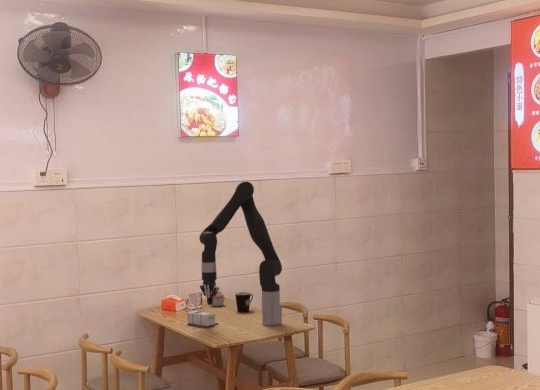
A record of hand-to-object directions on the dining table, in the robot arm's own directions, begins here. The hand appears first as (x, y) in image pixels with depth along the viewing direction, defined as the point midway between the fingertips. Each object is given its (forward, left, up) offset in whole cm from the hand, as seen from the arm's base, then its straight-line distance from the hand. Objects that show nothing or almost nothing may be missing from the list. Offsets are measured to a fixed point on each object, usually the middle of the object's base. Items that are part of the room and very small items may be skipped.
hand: (209, 304), depth 356 cm
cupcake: (+37, -37, -11) cm, 54 cm away
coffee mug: (+13, -37, -11) cm, 41 cm away
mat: (+6, 0, -11) cm, 13 cm away
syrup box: (-2, 0, -8) cm, 8 cm away
